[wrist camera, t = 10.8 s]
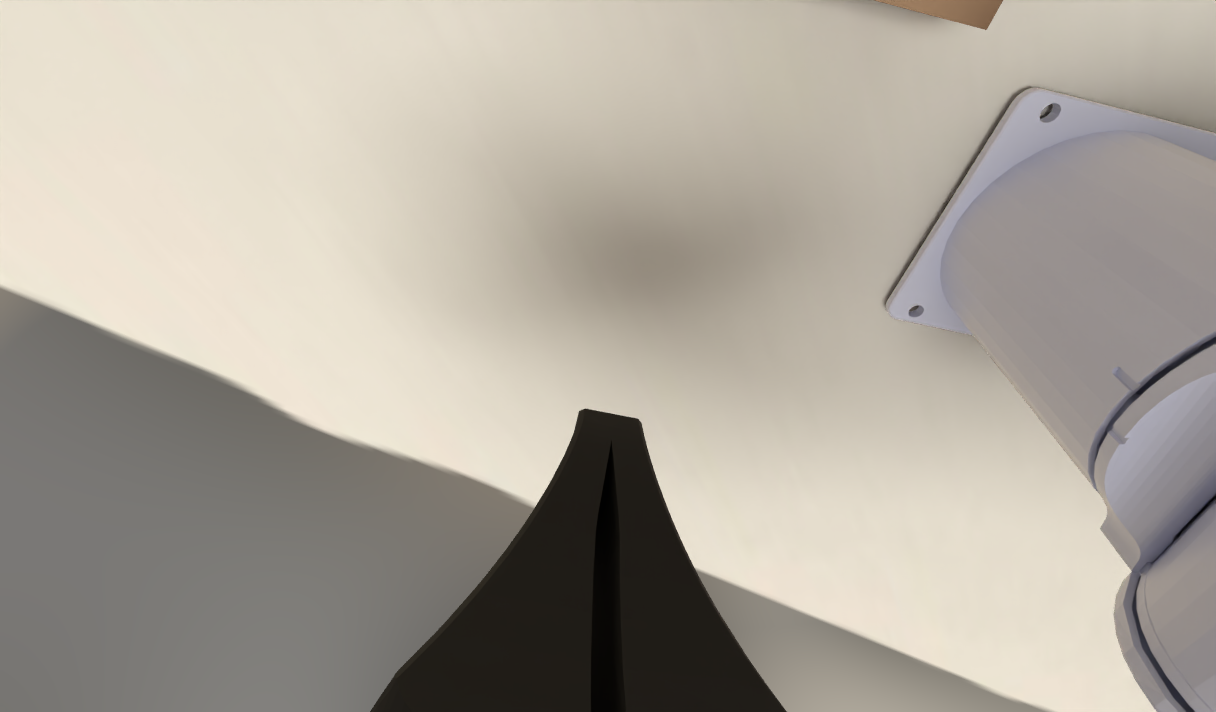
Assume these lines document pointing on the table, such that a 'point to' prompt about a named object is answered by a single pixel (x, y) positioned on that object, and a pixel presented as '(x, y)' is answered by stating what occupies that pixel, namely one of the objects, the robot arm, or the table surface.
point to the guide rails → (954, 9)
